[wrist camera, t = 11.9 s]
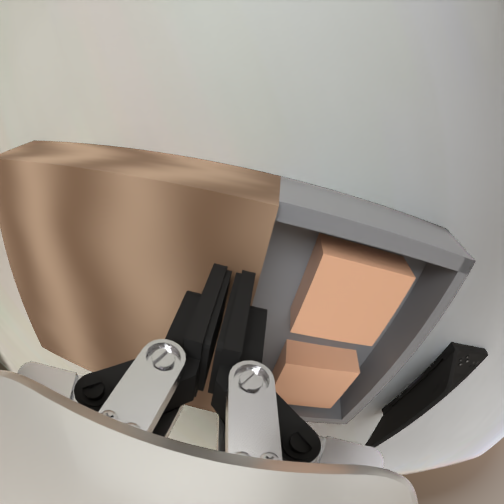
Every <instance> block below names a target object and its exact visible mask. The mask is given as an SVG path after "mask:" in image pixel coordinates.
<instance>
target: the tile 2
mask: <svg viewBox="0 0 504 504" xmlns="http://www.w3.org/2000/svg"><path fill="white" fill-rule="evenodd" d="M415 279H416V277H415V276H414V274H413V272H412V270H411V269H410V267H409V265H408V264H407V262H406V260H405V259H404V257H403V256H400V255H396V254H393V253H390V252H386V251H383V250H379V249H376V248H372V247H369V246H365V245H362V244H358V243H355V242H351V241H347V240H344V239H340V238H337V237H333V236H329V235H325V234H322V233H319V235H318V237H317V240H316V243H315V246H314V248H313V251H312V254H311V256H310V259H309V262H308V264H307V267H306V270H305V272H304V275H303V277H302V280H301V282H300V285H299V288H298V290H297V293H296V295H295V298H294V300H293V303H292V305H291V309H290V332H292V333H297V334H302V335H307V336H312V337H318V338H323V339H329V340H335V341H341V342H347V343H353V344H360V345H366V346H372V345H373V344H374V343H375V341H376V340H377V338H378V337H379V336H380V334H381V333H382V331H383V330H384V328H385V327H386V325H387V324H388V322H389V321H390V319H391V318H392V316H393V315H394V313H395V312H396V310H397V309H398V307H399V305H400V304H401V302H402V301H403V299H404V297H405V296H406V294H407V292H408V291H409V289H410V287H411V286H412V284H413V282H414V280H415Z"/></svg>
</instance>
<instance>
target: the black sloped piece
mask: <svg viewBox="0 0 504 504" xmlns="http://www.w3.org/2000/svg"><path fill="white" fill-rule="evenodd" d="M487 356H488V353H487V351H486V350H485V349H484V348H479V347H474V346H468V345H463V344H458V343H454V342H451V343H450V344H449V346H448V347H447V348H446V349H445V350H444V351H443V352H442V354H441V355H440V356H439V357H438V358H437V359H436V360H435V361H434V364H431V367H428V368H427V369H426V370H425V371H424V372H423V373H422V374H421V375H420V376H419V377H418V378H417V379H416V380H415V381H414V382H413V383H412V384H411V385H410V386H409V387H408V388H407V389H405V390H404V391H403V392H402V395H400V396H398V397H397V398H395V399H394V400H393V401H392V402H391V403H389V404H388V405H387V406H386V407H384V408H383V409H382V412H383V416H382V418H381V420H380V422H379V423H378V425H377V427H376V428H375V430H374V432H373V433H372V435H371V437H370V438H369V440H368V441H367V443H366V446H371V447H374V448H375V447H376V446H378V445H379V444H381V443H383V442H384V441H386V440H387V439H389V438H391V437H392V436H394V435H395V434H397V433H398V432H400V431H401V430H402V429H404V428H405V427H407V426H408V425H410V424H411V423H412V422H414V421H415V420H416V419H418V418H419V417H420V416H422V415H423V414H424V413H426V412H427V411H428V410H429V409H431V408H432V407H433V406H435V405H436V404H437V403H438V402H439V401H441V400H442V399H443V398H444V397H445V396H447V395H448V394H449V393H450V392H451V391H452V390H453V389H454V388H456V387H457V386H458V385H459V384H460V383H461V382H462V381H463V380H464V379H465V378H466V377H467V376H468V375H469V374H470V373H471V372H472V371H473V370H474V369H475V368H476V367H477V366H478V365H479V364H480V363H481V362H482V361H483V360H484V359H485V358H486V357H487Z"/></svg>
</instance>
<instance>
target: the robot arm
mask: <svg viewBox="0 0 504 504" xmlns="http://www.w3.org/2000/svg"><path fill="white" fill-rule="evenodd" d="M227 268H228V266H224V265H220V264H216V263H214V265H213V267H212V269H211V272H210V274H209V277H208V279H207V282H206V284H205V287H204V289H203V292H202V294H200V293H196V292H192V291H187V292H186V294H185V296H184V298H183V300H182V302H181V304H180V307H179V309H178V311H177V313H176V315H175V317H174V320H173V322H172V324H171V326H170V329H169V331H168V333H167V335H166V338H165V339H158V340H153V341H151V342H149V343H148V344H147V345H146V346H145V347H144V348H143V349H142V350H141V352H140V353H139V355H138V356H137V357H136V359H133V360H130V361H127V362H124V363H121V364H118V365H115V366H112V367H108V368H105V369H102V370H99V371H96V372H92V373H89V374H86V375H84V376H80V375H77V373H76V372H72V371H68V370H63V369H59V368H55V367H52V366H48V365H44V364H40V363H37V362H28V363H25V364H24V365H22V366H21V368H20V369H19V371H18V373H14V372H10V371H4V370H0V504H418V501H417V496H416V493H415V490H414V488H413V486H412V484H411V483H410V482H409V480H408V479H406V478H405V477H403V476H402V475H400V474H398V473H395V472H393V471H390V470H387V469H383V468H384V457H383V455H382V453H381V452H380V451H379V450H378V449H376V448H374V447H371V446H366V445H362V444H357V443H353V442H349V441H345V440H341V439H337V438H333V437H329V436H327V437H325V438H324V437H321V436H318V435H317V434H316V432H315V431H314V430H313V429H312V428H311V427H310V426H309V425H308V424H307V423H306V422H305V421H304V420H303V419H302V418H301V417H300V416H299V415H298V414H297V413H296V412H295V411H294V410H293V409H292V408H291V407H290V406H289V405H288V404H287V403H286V402H285V401H284V400H283V399H282V398H281V397H280V396H279V395H278V393H277V392H276V390H275V380H274V376H273V374H272V372H271V371H270V369H269V368H267V367H266V366H265V365H263V364H262V358H263V349H264V340H265V331H266V322H267V309H263V308H259V307H254V306H250V303H251V298H252V292H253V286H254V281H255V275H256V273H254V272H249V271H245V270H242V273H238V272H236V275H235V278H234V282H233V286H232V289H231V293H230V297H229V300H228V304H227V308H226V311H225V315H224V310H225V304H226V299H227V294H228V289H229V284H230V279H231V274H232V271H229V270H227ZM223 315H224V319H223ZM222 320H223V322H222ZM221 324H222V326H221ZM220 328H221V330H220ZM219 331H220V333H219ZM218 335H219V337H218ZM217 339H218V341H217ZM216 343H217V345H216ZM215 346H216V349H215ZM214 350H215V355H214V360H213V365H212V371H211V377H210V382H209V388H208V393H211V394H213V396H212V401H211V406H212V407H213V408H214V410H215V411H216V412H217V414H218V419H217V450H212V449H208V448H203V447H199V446H195V445H191V444H187V443H183V442H180V441H176V440H173V439H169V438H168V436H169V434H170V432H171V430H172V428H173V426H174V425H175V423H176V421H177V419H178V417H179V415H180V413H181V411H182V409H183V406H184V404H186V403H188V402H191V401H193V400H194V397H196V396H197V392H198V390H199V391H204V387H205V383H206V380H207V376H208V372H209V368H210V365H211V361H212V357H213V354H214Z"/></svg>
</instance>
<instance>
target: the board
mask: <svg viewBox="0 0 504 504" xmlns="http://www.w3.org/2000/svg"><path fill="white" fill-rule="evenodd" d="M280 181H281V176H277V175H273V174H269V173H265V172H260V171H256V170H252V169H247V168H242V167H238V166H233V165H228V164H223V163H218V162H213V161H208V160H202V159H197V158H191V157H185V156H179V155H173V154H167V153H160V152H154V151H147V150H139V149H132V148H123V147H115V146H105V145H95V144H84V143H71V142H55V141H32V142H29V143H26V144H24V145H21V146H19V147H16V148H13V149H11V150H9V151H6V152H4V153H1V154H0V228H1V232H2V237H3V241H4V245H5V249H6V253H7V256H8V260H9V263H10V267H11V270H12V273H13V276H14V279H15V282H16V285H17V288H18V291H19V294H20V296H21V299H22V302H23V304H24V307H25V309H26V312H27V314H28V317H29V319H30V322H31V324H32V326H33V328H34V331H35V333H36V335H37V337H38V339H39V341H40V344H41V346H42V347H43V348H45V349H47V350H49V351H51V352H52V353H54V354H56V355H58V356H60V357H62V358H64V359H66V360H68V361H70V362H72V363H74V364H76V365H79V366H81V367H83V368H85V369H87V370H90V371H92V372H96V371H99V370H102V369H105V368H108V367H112V366H115V365H118V364H121V363H124V362H127V361H130V360H133V359H136V357H137V356H138V355H139V353H140V352H141V350H142V349H143V348H144V347H145V346H146V345H147V344H148V343H149V342H151V341H153V340H158V339H165V338H166V335H167V333H168V331H169V329H170V326H171V324H172V322H173V320H174V317H175V315H176V313H177V311H178V309H179V307H180V304H181V302H182V300H183V298H184V296H185V294H186V292H187V291H192V292H196V293H200V294H202V292H203V289H204V287H205V284H206V282H207V279H208V277H209V274H210V272H211V269H212V267H213V265H214V263H216V264H220V265H224V266H228V268H227V270H229V271H232V274H231V279H230V284H229V289H228V294H227V299H226V304H225V310H224V315H225V311H226V308H227V304H228V300H229V297H230V293H231V289H232V286H233V282H234V278H235V275H236V272H238V273H242V270H245V271H249V272H254V273H256V275H255V281H254V286H253V292H252V298H251V303H250V306H252V303H253V299H254V296H255V292H256V289H257V285H258V281H259V278H260V274H261V271H262V267H263V263H264V260H265V256H266V252H267V248H268V245H269V241H270V237H271V234H272V230H273V226H274V222H275V219H276V215H277V211H278V207H279V196H280ZM224 315H223V319H224ZM222 322H223V320H222ZM221 326H222V324H221ZM220 330H221V328H220ZM219 333H220V331H219ZM218 337H219V335H218ZM217 341H218V339H217ZM216 345H217V343H216ZM215 349H216V346H215ZM214 355H215V350H214V354H213V357H212V361H211V365H210V368H209V372H208V376H207V380H206V383H205V387H204V391H199V390H198V392H197V396H196V397H194V400H193V401H191V402H188V403H186V404H185V405H188V406H192V407H196V408H200V409H204V410H208V411H212V412H216V411H215V410H214V408H213V407H212V406H211V401H212V396H213V394H211V393H208V388H209V382H210V377H211V371H212V365H213V360H214ZM216 413H217V412H216Z"/></svg>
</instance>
